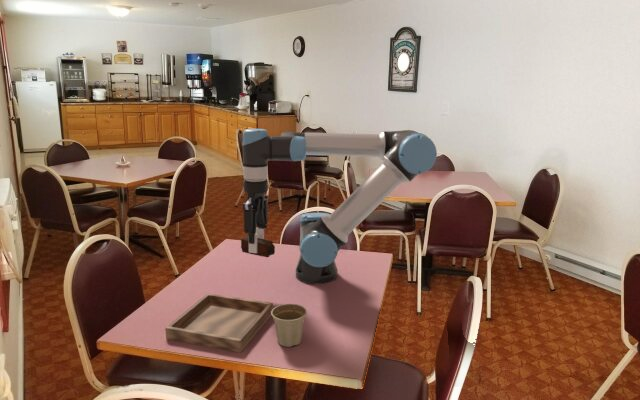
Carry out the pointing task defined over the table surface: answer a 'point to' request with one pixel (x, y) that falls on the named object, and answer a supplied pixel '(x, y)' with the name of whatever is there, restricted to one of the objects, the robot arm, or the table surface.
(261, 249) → the brick
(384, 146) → the robot arm
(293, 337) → the flower pot
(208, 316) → the tray
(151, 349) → the table surface
